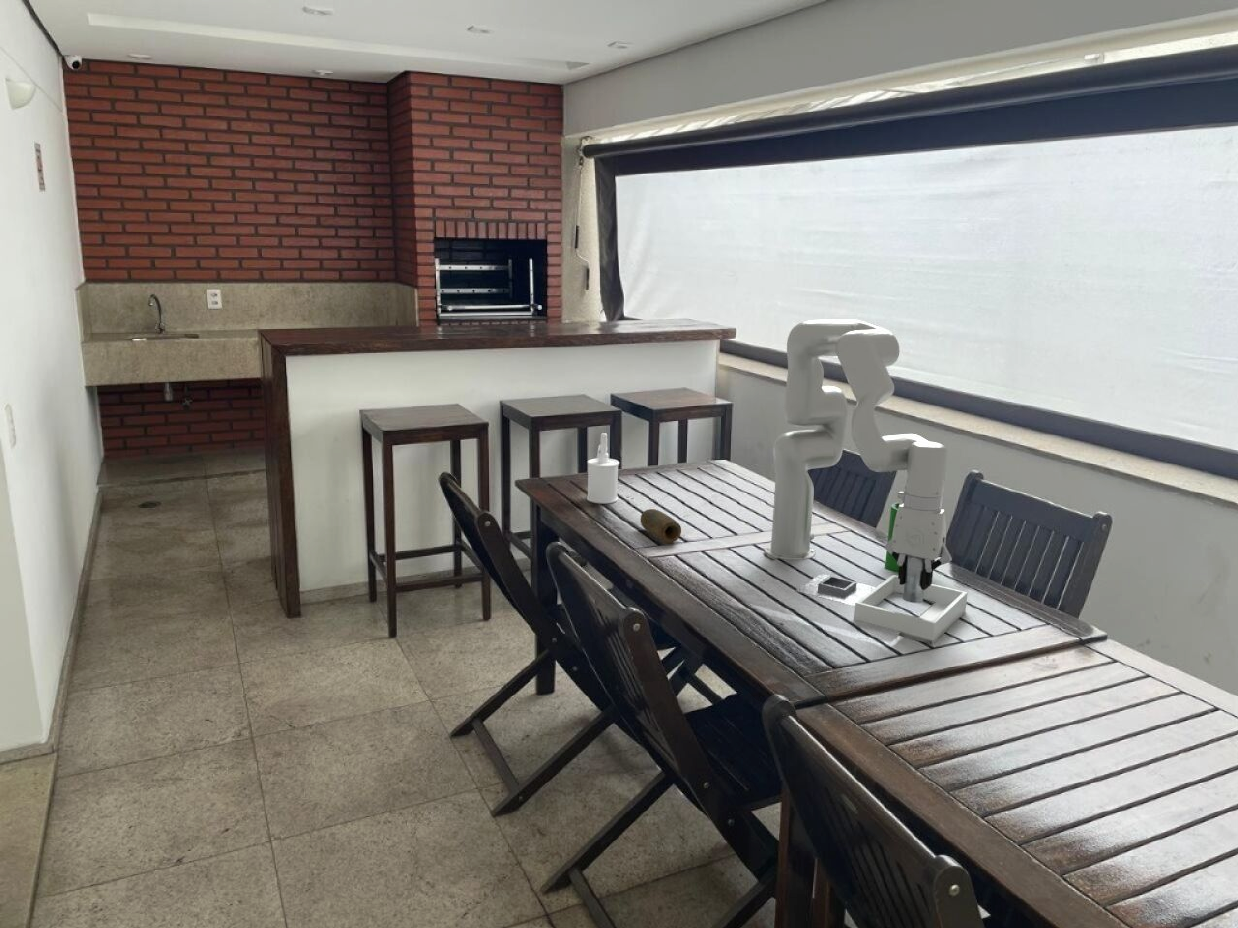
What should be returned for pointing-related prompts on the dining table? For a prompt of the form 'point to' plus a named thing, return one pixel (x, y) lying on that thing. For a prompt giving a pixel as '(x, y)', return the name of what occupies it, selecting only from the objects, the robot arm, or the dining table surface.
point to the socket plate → (836, 589)
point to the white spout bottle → (602, 476)
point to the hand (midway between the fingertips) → (914, 584)
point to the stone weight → (660, 525)
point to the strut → (914, 579)
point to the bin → (918, 628)
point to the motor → (890, 561)
